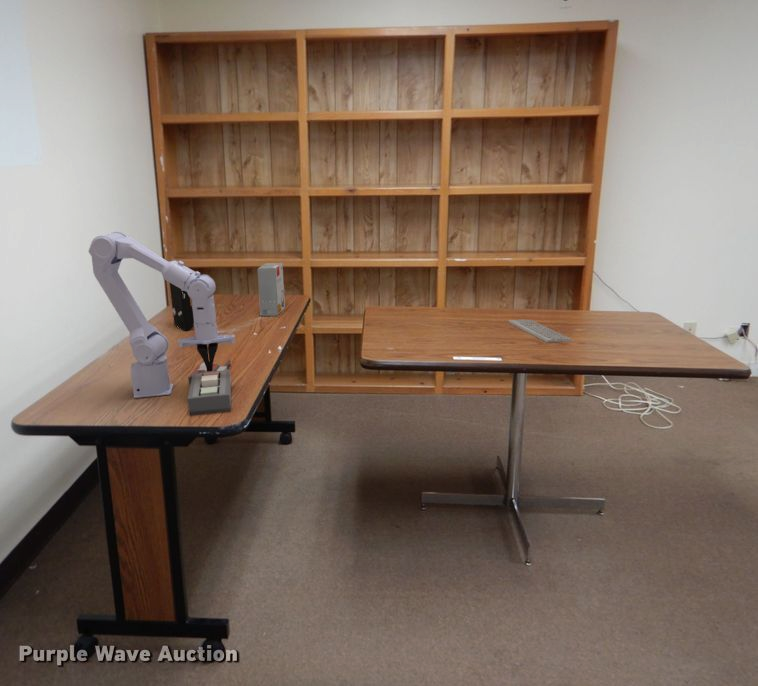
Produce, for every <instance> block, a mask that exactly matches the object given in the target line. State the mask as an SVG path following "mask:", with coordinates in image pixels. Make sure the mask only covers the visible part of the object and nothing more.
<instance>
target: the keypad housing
mask: <svg viewBox="0 0 758 686" xmlns="http://www.w3.org/2000/svg"><path fill="white" fill-rule="evenodd" d="M212 372H219V378H218V383H220V386H211V387H218V394H211V395H201V388H207V387H202V383H201V379H202V376H203V374H204V373H212ZM212 372H201V373H193V375H192V380H191V385H189V389H188V396H187V405H188V413H189V416H196V415H205V414H206V415H207V414H216V412H218V413H225V412H226V411H227V412H231V411H232V381H231V380H232V379H231V369H227V370H223V371H212Z"/></svg>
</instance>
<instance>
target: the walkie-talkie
mask: <svg viewBox="0 0 758 686" xmlns="http://www.w3.org/2000/svg"><path fill="white" fill-rule="evenodd" d="M231 362H232V361H231V359H227V361H226V363H225V364H224V366H222V365H221V366H220V364H217V363H213V371H223V370H228V367H229V366H230V364H231ZM201 372H212V371H207V368H206V365H205V363H204V361H203V362H202V363H201V364H200V365H197V366H196V368H195V369H194V370H193V371H192V372H191V374H190V375H189V376H188V378H187V379H188V385H189V384H190V385H191V380H192V375H193V373H201ZM190 385H189V386H190Z"/></svg>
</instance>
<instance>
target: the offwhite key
mask: <svg viewBox="0 0 758 686" xmlns="http://www.w3.org/2000/svg"><path fill="white" fill-rule="evenodd" d="M201 383H202V387H211V386H219V384H218V375H208V376H202V379H201Z"/></svg>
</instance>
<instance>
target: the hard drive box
mask: <svg viewBox="0 0 758 686" xmlns="http://www.w3.org/2000/svg"><path fill="white" fill-rule="evenodd" d="M283 266H284V264H283V262H266V263H264V264H262V265H261V266H260V267H258V268H257V282H258V298H259V299H258V302H259V315H260V317H263V316H264V317H266V316H267V317H276V316H277V317H278V316H279V315H280V314H281V313H282V312H283V311H284V310H285V309H286V298H285V285H284V282H285V281H284V269H283V268H284V267H283Z"/></svg>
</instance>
